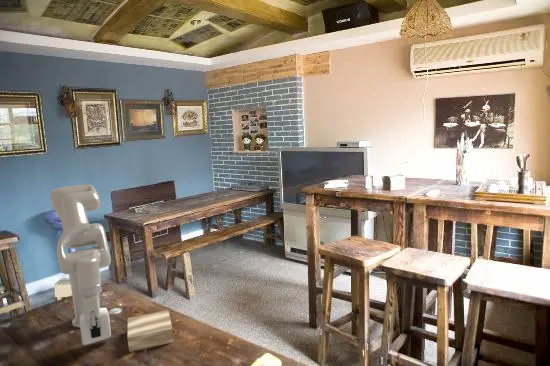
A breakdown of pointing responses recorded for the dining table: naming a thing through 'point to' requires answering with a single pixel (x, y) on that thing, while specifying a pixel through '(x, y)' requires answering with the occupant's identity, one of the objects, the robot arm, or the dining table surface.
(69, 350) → the dining table surface
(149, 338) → the birch block
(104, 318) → the photo printer
